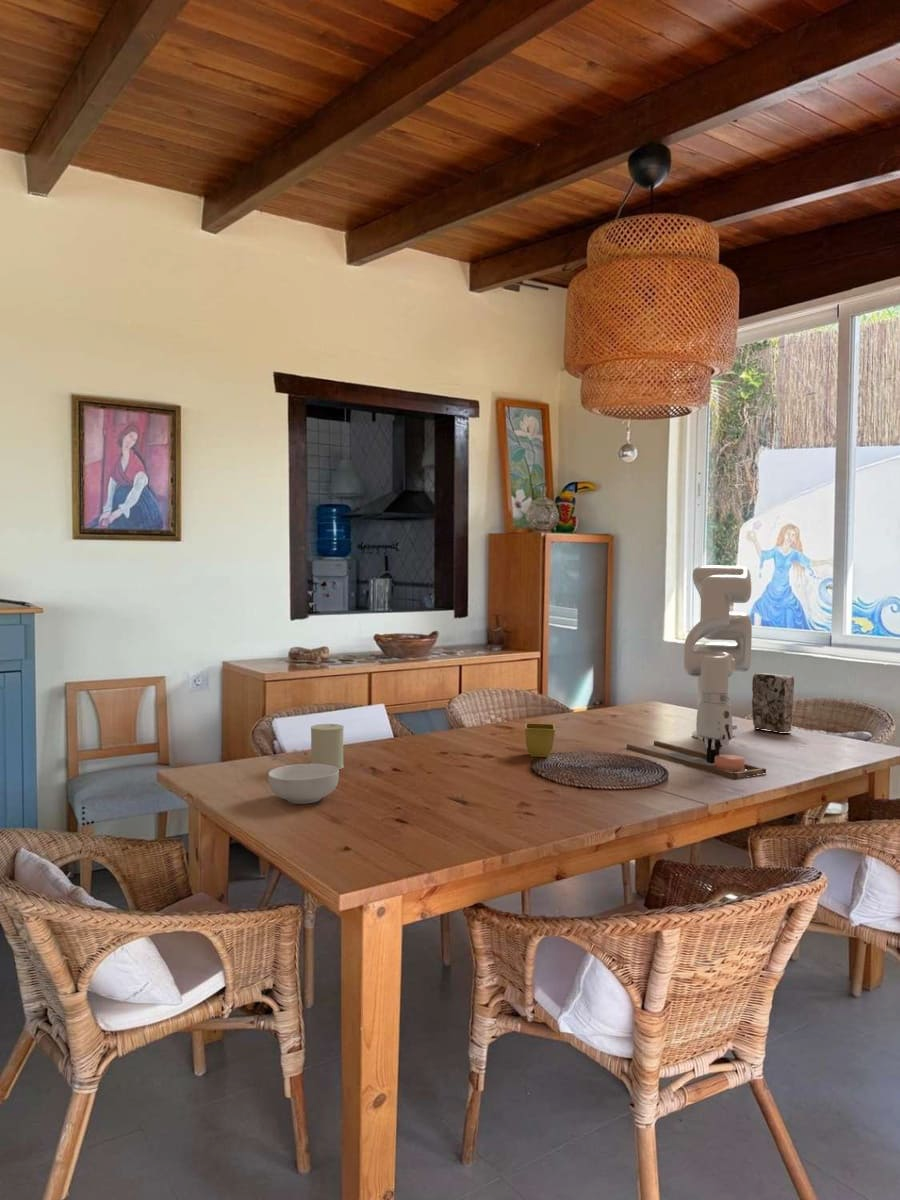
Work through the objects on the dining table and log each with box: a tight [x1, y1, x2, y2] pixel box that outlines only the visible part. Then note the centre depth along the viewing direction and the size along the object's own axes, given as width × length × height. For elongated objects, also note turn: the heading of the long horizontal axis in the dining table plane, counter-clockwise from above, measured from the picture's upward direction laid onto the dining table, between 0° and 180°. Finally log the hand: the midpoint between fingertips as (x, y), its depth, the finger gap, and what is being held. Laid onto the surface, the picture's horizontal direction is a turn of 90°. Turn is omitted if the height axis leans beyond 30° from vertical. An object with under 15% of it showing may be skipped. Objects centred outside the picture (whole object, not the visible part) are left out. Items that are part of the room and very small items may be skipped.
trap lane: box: [626, 740, 767, 780], centre depth 259 cm, size 12×44×2 cm, turn 29°
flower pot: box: [524, 722, 556, 758], centre depth 265 cm, size 9×9×9 cm
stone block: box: [751, 672, 795, 732], centre depth 306 cm, size 13×7×20 cm, turn 42°
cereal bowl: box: [267, 763, 340, 805], centre depth 214 cm, size 17×17×7 cm
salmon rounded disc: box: [714, 754, 746, 772], centre depth 247 cm, size 8×8×4 cm
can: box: [310, 723, 345, 771], centre depth 247 cm, size 9×9×12 cm
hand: (712, 762), depth 252 cm, fingers closed
